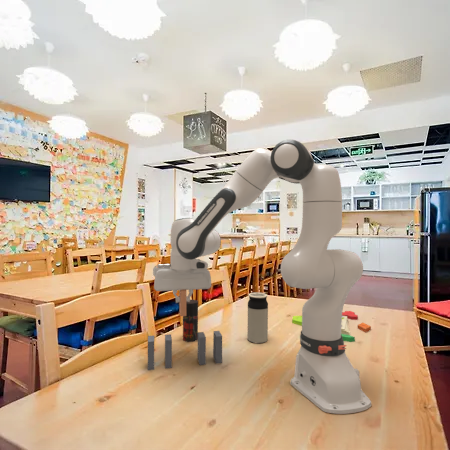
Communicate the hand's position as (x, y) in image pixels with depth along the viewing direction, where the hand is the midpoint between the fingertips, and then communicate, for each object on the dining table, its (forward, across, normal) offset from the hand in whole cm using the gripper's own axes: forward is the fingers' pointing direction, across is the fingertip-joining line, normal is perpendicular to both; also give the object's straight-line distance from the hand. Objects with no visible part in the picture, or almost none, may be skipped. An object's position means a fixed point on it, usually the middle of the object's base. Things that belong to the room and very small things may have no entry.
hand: (182, 302), depth 110 cm
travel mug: (+18, +30, +6) cm, 36 cm away
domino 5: (+18, +11, -8) cm, 23 cm away
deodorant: (+18, +4, +12) cm, 22 cm away
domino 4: (+18, +6, -8) cm, 21 cm away
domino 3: (+4, 0, 0) cm, 4 cm away
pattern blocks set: (+18, +68, +15) cm, 72 cm away
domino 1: (+18, -11, -8) cm, 23 cm away
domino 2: (+18, -6, -8) cm, 21 cm away
